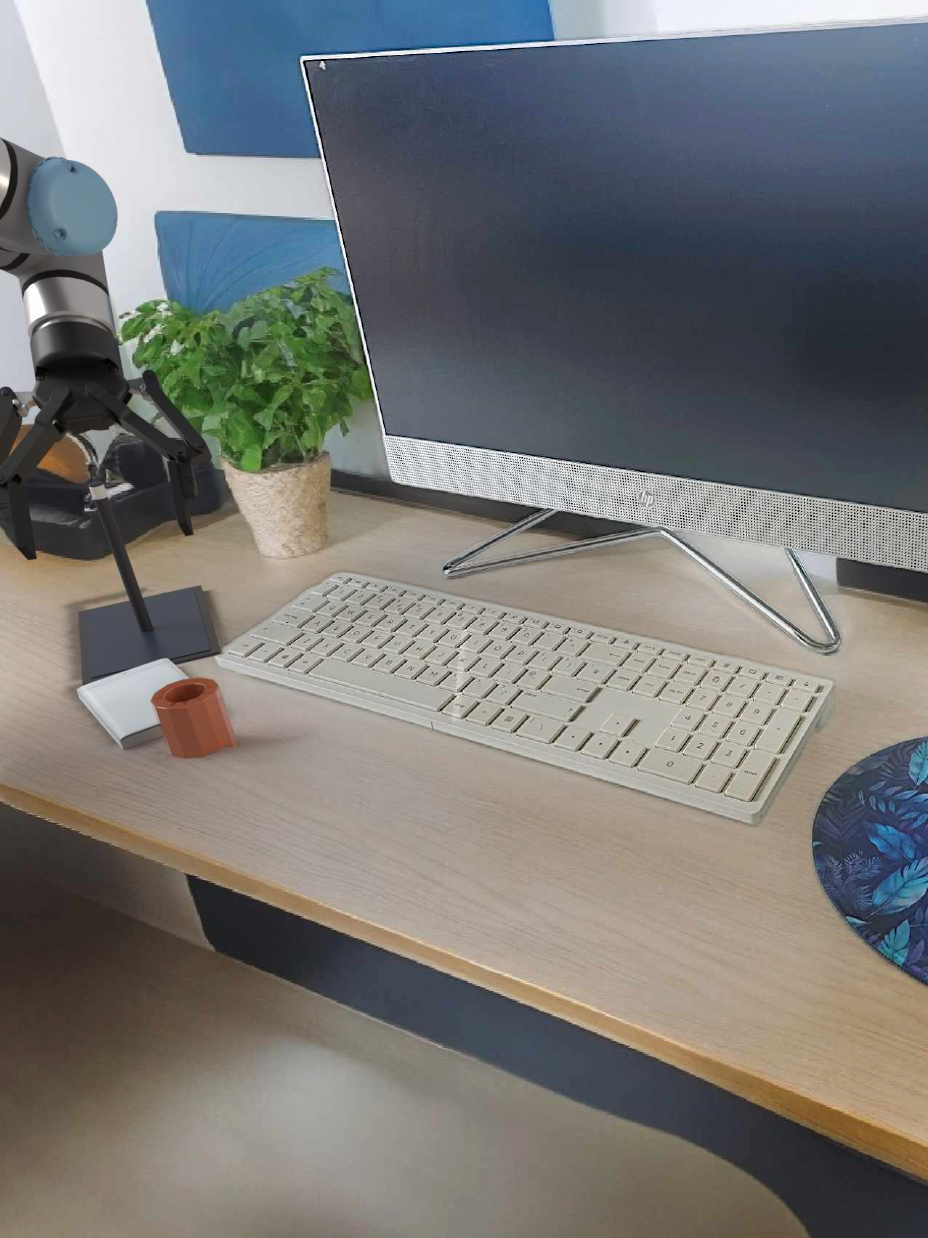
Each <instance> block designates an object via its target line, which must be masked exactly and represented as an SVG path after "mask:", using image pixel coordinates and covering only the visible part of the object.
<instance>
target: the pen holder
mask: <svg viewBox="0 0 928 1238" xmlns="http://www.w3.org/2000/svg"><path fill="white" fill-rule="evenodd" d="M189 678H190V679H182V680H179V681H176V682H173V683H170V684H167V685H166V686H164V687H163V688H161V689H160V690H158V691H157V692H155V693H154V695H153V697H152V699H151V701H150V702H151V704H152V707H153V710H154V713H155V716H156V718H157V721H158V724H159V727H160V729H161V732H162V737H163V740H164V743H165V746H166V748H167V751H168V755H171V756H172V757H176V758H179V759H180V758H181V759H194V758H203V757H206V756H208V755H212V754H215V753H217V752H219V751H222V750H223V749H227V748H234V747H236V748H237V746H238V740H237V736H236V734H235V730H234V728H233V723H232V722H231V718H230V714H229V712H228V708H227V706H226V703H225V700H224V696H223V693H222V690H221V687H220V685H219V684H218V683H217V682H216V680H215V679H213V678H207V677H189Z"/></svg>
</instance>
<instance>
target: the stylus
mask: <svg viewBox="0 0 928 1238" xmlns="http://www.w3.org/2000/svg"><path fill="white" fill-rule="evenodd" d="M103 482H104V481H103V480H94V481H90V482H89V483H88V488H89V491H90V494H91V496H92V499H93V502H94V505H95V507H96V510H97V513H98V516H99V518H100V521H101V525H102V527H103V530H104V533H105V536H106V538H107V542H108V544H109V547H110V550H111V553H112V556H113V558H114V561H115V564H116V567H117V570H118V573H119V575H120V577H121V581H122V583H123V587H124V589H125V592H126V595H127V598H128V601H130V604H131V606H132V609H133V612H134V615H135V618H136V621H137V623H138V626H139V629H140V631H142V632H145V631H149V630H151V629H153V626H152V623H151V620H150V617H149V614H148V611H147V609H146V606H145V603H144V600H143V595H142V591H141V589H140V586H139V583H138V580H137V577H136V574H135V571H134V567H133V566H132V563H131V560H130V556H129V553H128V551H127V548H126V546H125V542H124V540H123V537H122V534H121V531H120V528H119V525H118V522H117V519H116V517H115V514H114V511H113V508H112V505H111V502H110V499H109V496H108V493H107V490H106V487H105V484H104V483H103Z"/></svg>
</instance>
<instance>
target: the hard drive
mask: <svg viewBox="0 0 928 1238" xmlns="http://www.w3.org/2000/svg"><path fill="white" fill-rule="evenodd" d="M190 678H191V677H189V676H188V675H187V674H186V673H184V671H182V670H181V669H180V668H179V667H178V666H177V664H176V665H175V664H174V663H173V662H171V661H170V660H169V659H168V658H164V659H159V660H157V661H154V662H150V663H147V664H145V665H142V666H139V667H136V668H133V669H130V670H127V671H124V672H121V673H118V674H115V675H112V676H109V677H106V678H103V679H100V680H97V681H95V682H92V683H89V684H86V685H81V686H79V687H78V688H77V689H76V693H77V695H78V698H79V699H80V701H81V702H82V703H83V704H84V705H85V707H86V708H87V709H88V710H89V712H90V713H91V714H92V715H93V716H94V717H95V718H96V720H97V721H98V722H99V724H100V725H101V726H102V727H103V728H104V729H105V730H106V731H107V733H108V734H109V735H110V736H111V738H112V739H113V740H114V741H115V742H116V743H117V745H118V746H119V747H120V749H121V750H122V751H124V750H127V749H130V748H132V747H135V746H138V745H141V744H143V743H146V742H149V741H151V740H154V739H157V738H159V737H163V735H162V732H161V729H160V727H159V724H158V721H157V718H156V716H155V713H154V710H153V707H152V704H151V702H150V701H151V699H152V697H153V695H154V693H155V692H157V691H158V690H160V689H161V688H163V687H164V686H166V685H167V684H170V683H173V682H176V681H179V680H182V679H190Z"/></svg>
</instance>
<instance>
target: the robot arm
mask: <svg viewBox="0 0 928 1238" xmlns="http://www.w3.org/2000/svg"><path fill="white" fill-rule="evenodd" d="M118 214H119V213H118V205H117V201H116V199H115V196H114V195H113V192H112V190H111V187H110V186H109V185H108V183H107V182H106V180H105V179H104V178H103V177H102V176H101V175H100V174H99V173H98V172H97V171H96V170H94V169H93V168H92V167H90V166H89V165H86V164H85V163H83V162H80V161H77V160H72V159H67V158H65V157H60V156H48V157H44V156H42V155H39V154H37V153H34V152H33V151H30V150H29V149H26V148H24V147H22V146H20V145H18V144H16V143H14V142H12V141H9V140H8V139H5V138H2V137H1V136H0V270H1V271H3V272H4V273H7V274H10V275H12V276H14V277H16V278H17V279H18V283H19V288H20V293H21V298H22V302H23V308H24V316H25V322H26V330H27V335H28V338H29V347H30V355H31V361H32V367H33V371H34V372H33V373H34V378H35V384H34V387H33V389H32V391H14V390H13V389H12V387H10V386H6V385H5V386H2V387H0V517H1V518H2V520H3V521H4V522H5V523H6V524H7V526H9V527H10V526H13V531H14V538H15V544H16V545H15V546H16V550H18V551H19V552H20V553H21V554H22V556H23V557H24V558H25V559H26V560H27V561H34V560H38V557H37V550H36V543H35V537H34V531H33V523H32V518H31V516H32V515H31V511H30V505H29V504H30V503H29V498H28V494H27V493H26V491H24V489H23V488H22V487H23V485H24V484H25V483H26V482H27V480H28V479H29V478H30V477H31V475H32V474H33V472H34V471H35V470H36V468H38V466H39V465H40V463H41V462H42V461H43V459H44V458H45V457H46V455H48V453H49V452H50V450H51V449H52V448H53V446H55V444H56V443H59V442H61V441H62V440H63V438H64V437H65V436H66V435H67V433H68V432H72V433H73V434H74V435H79V434H84V433H87V432H91V431H98V432H99V431H100V432H101V431H102V432H103V431H109V430H110V428H111V427H113V426H114V425H115V424H116V425H117V426H119V427H120V428H121V429H123V430H124V431H125V432H127V433H129V434H132V435H133V436H135V437H136V438H137V439H139V440H140V441H142V443H145V444H146V445H147V446H149V447H150V448H151V449H153V450H154V451H156V452H157V453H158V454H159V455H161V456H163V457H164V458H165V459H166V465H167V470H168V475H169V481H170V487H171V492H172V497H173V503H174V510H175V515H176V519H177V520H176V521H177V524H178V526H179V528H180V530H181V531H182V533H183V535H184V537H189V536H194V535H195V533H194V529H193V524H192V518H191V517H192V516H191V512H190V507H189V500H195V499H198V496H199V490H198V484H197V479H196V475H195V473H196V472H195V468H196V467H197V466H198V465H199V464H201V463H206V464H207V463H209V462H211V461H212V459H213V454H212V452H211V450H210V448H209V446H208V444H207V442H206V440H205V439H204V438H203V437H202V435H200V433H199V432H198V430H196V428H195V427H194V426H193V425H192V424H191V423H190V421H189V420H188V419H187V418H186V417H185V415H184V414H182V412H181V411H180V410H179V408H178V407H177V406H176V405H175V403H173V401H171V399H170V397H168V396H167V394H166V393H165V392H164V391H165V390H164V388H163V386H162V383H161V381H160V380H159V378H158V376H157V373H156V372H155V371H154V370H152V369H145V370H144V371H143V372H142V373H141V375H142V376H140V377H137V378H132V379H126V377H125V374H124V373H125V372H124V368H123V362H122V357H121V351H120V346H119V342H118V340H117V329H116V323H115V318H114V313H113V307H112V302H111V296H110V292H109V290H110V289H109V285H108V278H107V272H106V265H105V259H104V252H103V250H104V249H105V248H107V247H108V246H109V245H110V243H111V242H112V241H113V239H114V237H115V235H116V232H117V227H118V217H119V216H118ZM134 395H139V396H140V398H141V399H142V400H144V401H145V402H148V403H153V405H154V407H155V409H156V410H157V411H158V413H159V414H160V415H161V417H163V418H164V419H165V421H166V422H167V423H168V424H169V425H170V427H171V428H172V429H173V430H174V431H175V432H176V434H177V435H178V436H179V437H180V439H181V440H182V441H183V442H184V443H185V445H186V446H187V447H186V446H185V445H180V444H179V443H178V442H176V441H175V440H173V439H172V438H171V437H170V436H168V435H166V434H165V433H164V432H162V431H161V430H159V429H158V428H157V427H155V426H154V425H152V424H151V423H150V422H148V420H146V419H144V418H143V417H142V416H141V415H139V414H138V413H136V412H135V411H134V410H132V409H131V408H130V407H129V403H130V402H131V400H132V399H133V396H134ZM33 407H37V408H38V409H39V412H38V413H37V414H36V415H35V417H34V422H33V424H32V426H31V427H30V428H29V430H28V431H27V432H26V433H25V435H24V436H23V437H22V439H21V440H20V441H19V442H18V444H17V445H16V446H15V447H14V445H15V442H16V440H17V438H18V435H19V433H20V431H21V429H22V424H23V419H24V418H27V417H28V416H29V413H30V410H31V408H33ZM13 447H14V449H13Z"/></svg>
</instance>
